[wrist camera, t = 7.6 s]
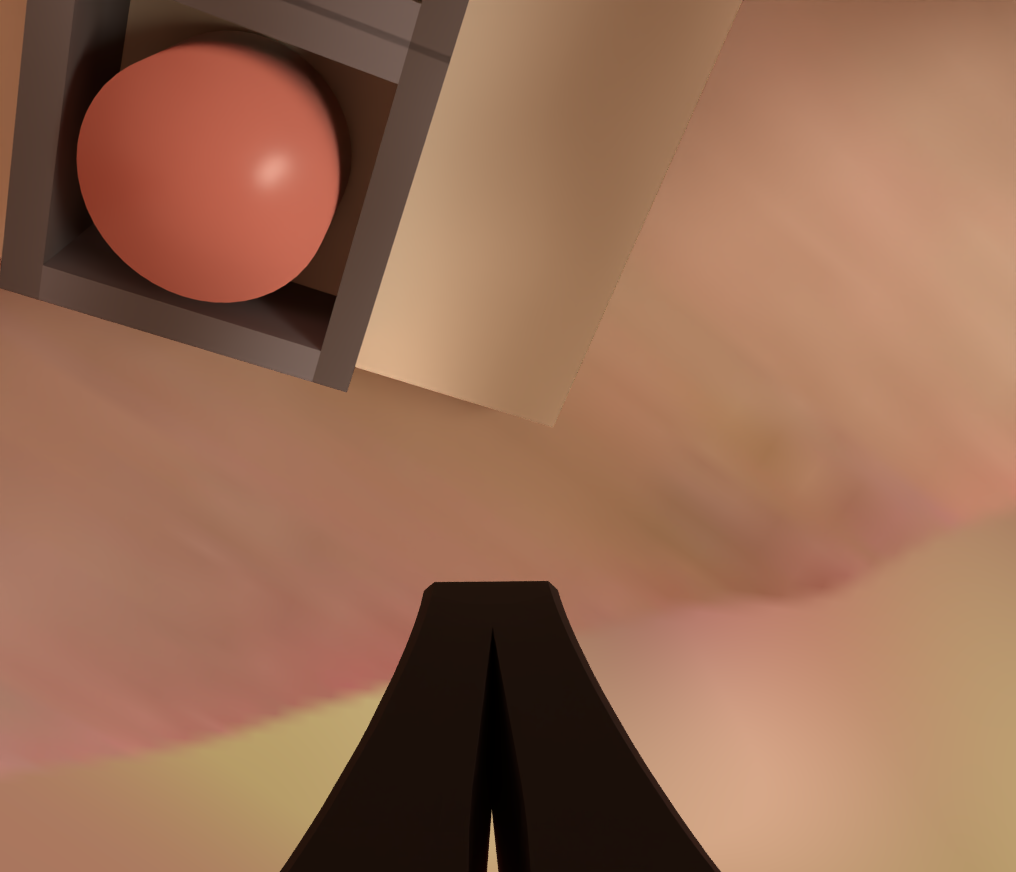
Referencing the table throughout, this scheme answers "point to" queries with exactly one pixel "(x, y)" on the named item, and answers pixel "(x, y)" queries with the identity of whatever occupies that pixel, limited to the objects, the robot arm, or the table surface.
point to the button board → (388, 179)
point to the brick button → (215, 165)
